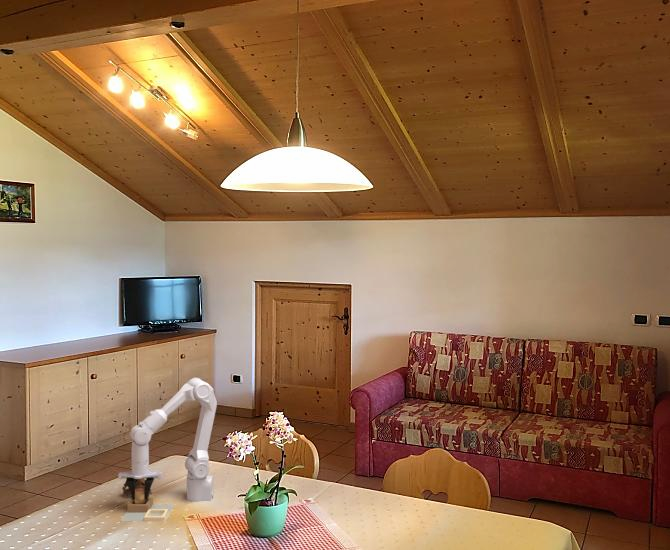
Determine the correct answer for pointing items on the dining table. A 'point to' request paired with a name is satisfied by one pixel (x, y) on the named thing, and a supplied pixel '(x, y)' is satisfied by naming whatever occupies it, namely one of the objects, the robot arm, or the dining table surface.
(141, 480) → the brown curved piece
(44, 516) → the dining table surface
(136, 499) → the pin
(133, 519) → the mount
